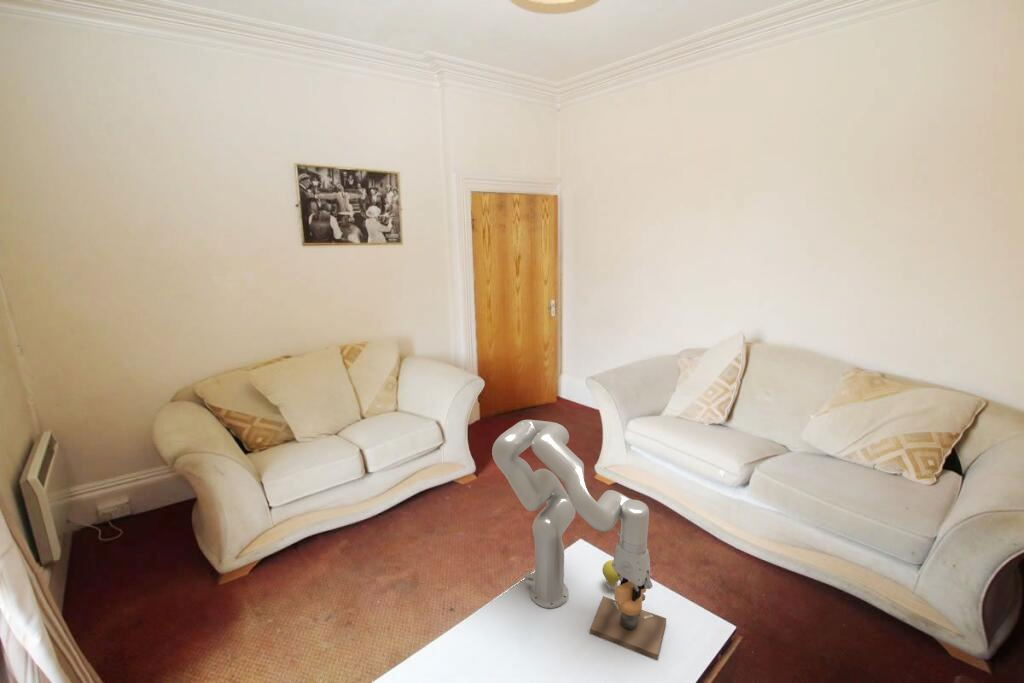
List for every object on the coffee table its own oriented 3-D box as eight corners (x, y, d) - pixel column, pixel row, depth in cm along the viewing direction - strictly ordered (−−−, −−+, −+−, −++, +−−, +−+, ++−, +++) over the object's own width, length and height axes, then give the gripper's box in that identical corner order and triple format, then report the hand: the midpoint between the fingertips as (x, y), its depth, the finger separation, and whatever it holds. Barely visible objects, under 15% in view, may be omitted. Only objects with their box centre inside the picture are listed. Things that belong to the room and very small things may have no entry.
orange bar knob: (624, 621, 136) (625, 598, 134) (609, 604, 142) (610, 582, 140) (651, 607, 141) (653, 585, 139) (635, 591, 147) (637, 570, 145)
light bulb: (621, 596, 156) (623, 571, 153) (601, 593, 157) (602, 568, 155) (621, 581, 162) (622, 557, 160) (601, 579, 164) (602, 554, 161)
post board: (589, 633, 142) (590, 612, 140) (602, 601, 154) (603, 580, 152) (657, 660, 133) (659, 637, 131) (665, 623, 145) (667, 602, 143)
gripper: (602, 534, 139) (600, 586, 144) (652, 563, 128) (648, 618, 132) (616, 523, 144) (614, 574, 149) (666, 550, 133) (661, 603, 137)
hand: (630, 594), depth 141 cm, fingers closed on orange bar knob, 3 cm apart
